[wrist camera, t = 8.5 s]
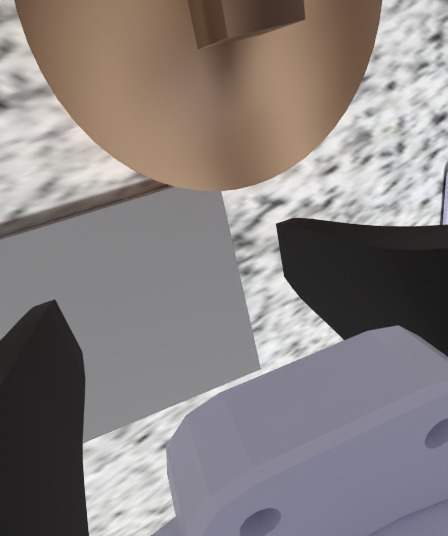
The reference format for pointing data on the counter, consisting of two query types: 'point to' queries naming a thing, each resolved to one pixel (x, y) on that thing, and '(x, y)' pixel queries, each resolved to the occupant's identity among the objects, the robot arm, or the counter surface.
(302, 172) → the counter surface
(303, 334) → the counter surface
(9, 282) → the mat
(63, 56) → the lid
